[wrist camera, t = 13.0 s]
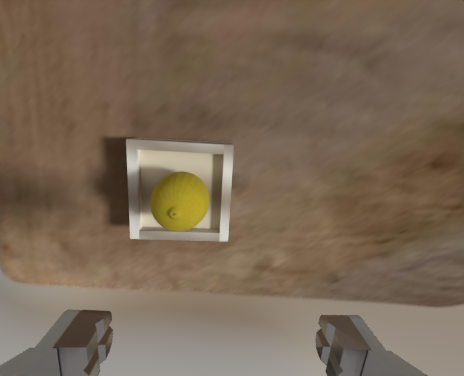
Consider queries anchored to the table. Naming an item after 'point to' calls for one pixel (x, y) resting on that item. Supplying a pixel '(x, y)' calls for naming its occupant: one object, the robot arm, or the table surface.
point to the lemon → (179, 201)
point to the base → (175, 160)
